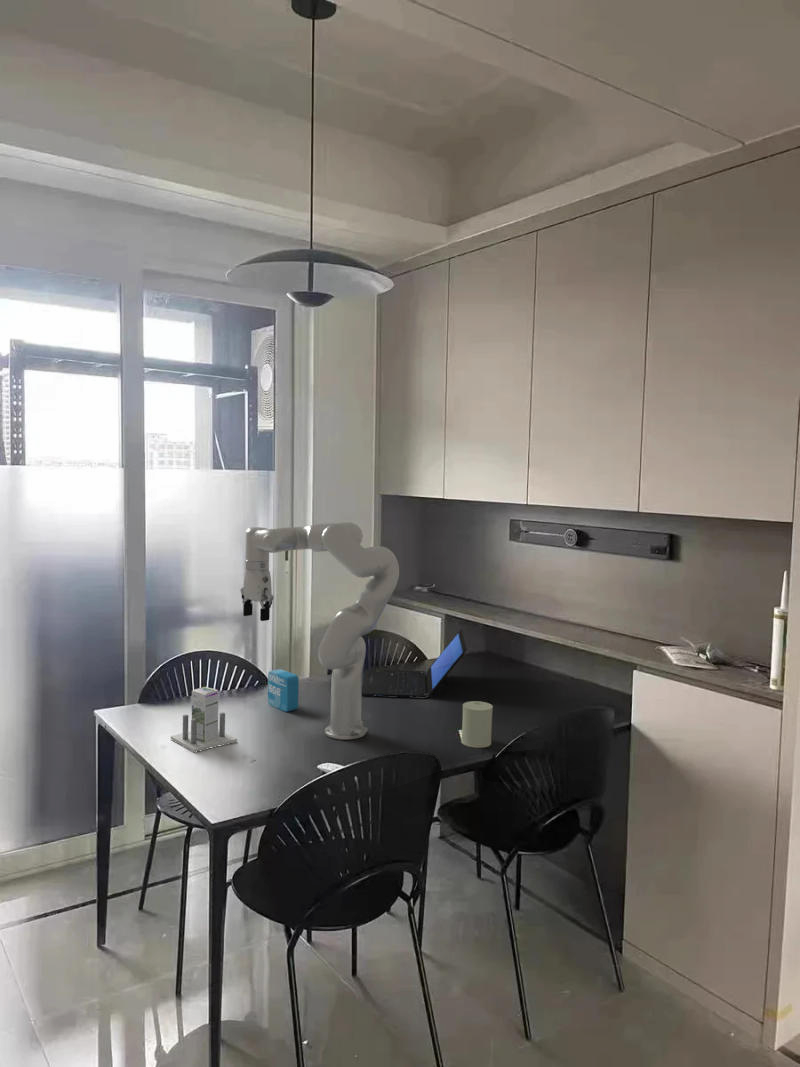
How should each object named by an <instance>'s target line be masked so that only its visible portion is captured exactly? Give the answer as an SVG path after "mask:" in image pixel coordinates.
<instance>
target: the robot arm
mask: <svg viewBox="0 0 800 1067" xmlns="http://www.w3.org/2000/svg"><path fill="white" fill-rule="evenodd" d="M363 537H364V535H363V531H362V529H361V527H360V526H359V525H357V524H356V523H353V522H333V523H319V524H318V523H316V524H311V525H308V526H306V525H304V526H293V527H292V526H291V527H289V526H288V527H279V528H271V529H270V528H269V529H268V528H267V527H261V526H260V527H258V526H256V527H254V526H253V527H249V528H247V529H246V530H245V562H244V564H245V566H244V567H245V568H244V569H245V570H244V579H243V587H241V588H240V594H241V599H242V604H243V606H242V607H243V610H242V611H243V612H242V613H243V616H244V617H249V616H253V609H254V608H253V607H254V606H253V601H254V602H257V603H259V605H260V606H261V608H260V609H259V610H260V611H259V613H260V614H259V616H260V617H259V620H260V621H261V622H265V621H269V620H270V619H271V618H270V614H271V612H270V610H271V606H272V604H273V601H274V598H275V597H274V595H273V594H272V593H273V592H272V588H273V587H272V576H271V570H270V569H269V568H270V553H272V554H274V553H275V554H276V553H281V552H289V551H299V550H300V551H301V550H311V551H313V552H315V553H316V552H318V553H321V552H328V553H329V554H330V555H331V556H332V557H333V558H334V559H335V560H337V561H338V563H340V564H341V565H342V566H343V567H344V568H345V569H346V570H347V571H348V572H350V573H351V574H352V575H353V576H355V577H358V578H363V579H364V578H368V577H369V579H368V581H367V582H366V583H365V585H364V586H363V587H362V589H361V592H360V593H359V595H358V597H357V599H356V600H355V602H354V603H353V604H352V605H351V606H347V607H344V608H342V609H340V610H339V611H338V612H337V613H336V614H335V615H334V617H333V618H332V620H331V622H330V624H329V626H328V628H327V629H326V632H325V634H324V636H323V637H322V639H321V642H320V643H319V647H318V650H317V656H318V660H319V662H320V665H321V666H323V668H325V669H328V670H331V678H330V679H331V680H330V713H329V714H330V716H329V718H330V719H329V725H328V726H326V727H325V728H324V734H325V735H326V737H328V738H331V739H336V740H343V741H345V740H346V741H347V740H355V739H359V738H362V737H364V736H366V733H367V732H368V728H367V727H365V726H364V721H363V720H362V700H363V699H362V687H363V673H364V666H365V665H364V663H365V659H366V653H367V648H366V647H367V646H366V642H365V640H364V638H363V636H365V635H367V634H370V633H371V632H372V631H374V629H375V628H376V626H377V624H378V622H379V620H380V617H381V616H382V614H383V612H384V610H385V608H386V607H387V604H388V602H389V600H390V599H391V596H392V595H393V593H394V591H395V588H396V587H397V584H398V581H399V576H400V565H399V563H398V562H399V561H398V559H397V557H396V555H395V553H394V552H393V551H391V549H389V548H388V547H385V546H380V545H379V546H378V545H373V546H369V547H364V546H362V545H361V544H362V542H363Z"/></svg>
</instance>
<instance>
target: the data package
mask: <svg viewBox="0 0 800 1067" xmlns="http://www.w3.org/2000/svg"><path fill="white" fill-rule="evenodd" d="M299 683H300V679H299V676H298V675H297V674H295V673H293V672H291V671H290V672H289V671H287V670H284V669H281V668H278V669H273V670H270V671H268V673H267V704H268V705H269V706H271V707H273V708H275V707H276V708H275V709H277V708H278V710H280V711H282V710H283V711H282V712H284V711H285V712H284V713H288V712H291V711H296V710H298V708H299V689H300V687H299V685H300V684H299Z"/></svg>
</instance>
